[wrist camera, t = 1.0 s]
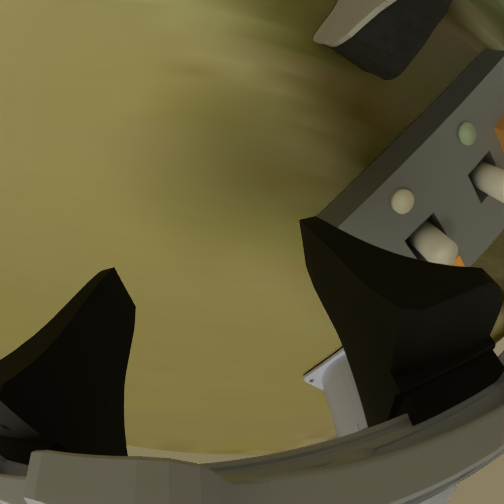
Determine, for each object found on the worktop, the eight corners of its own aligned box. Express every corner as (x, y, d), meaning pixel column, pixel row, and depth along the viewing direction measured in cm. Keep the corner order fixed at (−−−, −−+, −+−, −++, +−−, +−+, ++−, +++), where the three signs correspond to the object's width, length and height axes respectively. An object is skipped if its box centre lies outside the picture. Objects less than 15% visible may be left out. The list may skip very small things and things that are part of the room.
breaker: (486, 173, 19) (517, 189, 15) (471, 190, 19) (502, 208, 16) (477, 152, 18) (510, 166, 14) (461, 170, 18) (494, 186, 15)
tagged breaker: (433, 230, 21) (461, 254, 17) (414, 250, 21) (440, 276, 18) (421, 212, 20) (451, 234, 16) (401, 232, 20) (428, 257, 17)
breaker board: (529, 156, 19) (553, 167, 16) (388, 308, 26) (403, 332, 23) (483, 50, 15) (511, 51, 12) (305, 226, 22) (318, 249, 19)
